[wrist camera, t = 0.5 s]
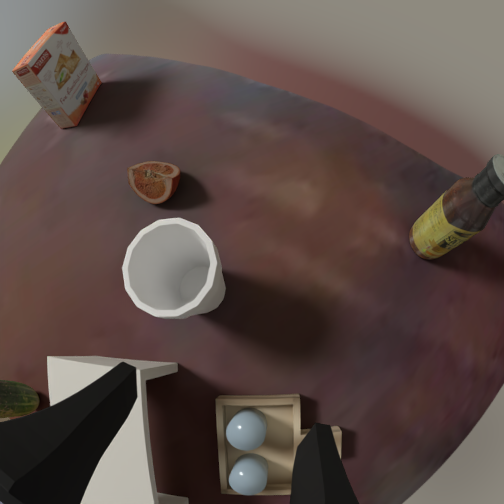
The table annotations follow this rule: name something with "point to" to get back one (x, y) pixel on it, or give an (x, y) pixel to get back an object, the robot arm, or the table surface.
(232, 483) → the pale blue rounded cylinder
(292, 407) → the serving board
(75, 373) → the shelf
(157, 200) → the fruit slice
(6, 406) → the vegetable
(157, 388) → the table surface
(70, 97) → the cracker box
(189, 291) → the foam cup
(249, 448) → the grey-blue tapered cylinder
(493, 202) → the sauce bottle
